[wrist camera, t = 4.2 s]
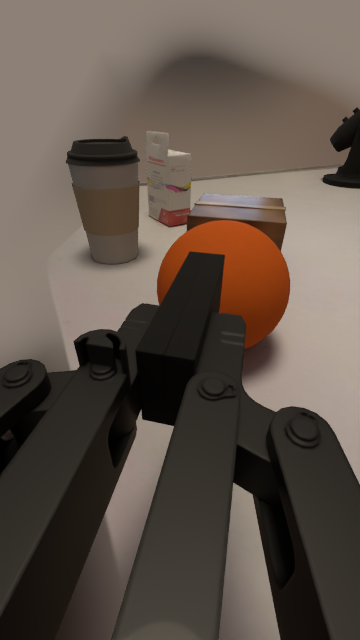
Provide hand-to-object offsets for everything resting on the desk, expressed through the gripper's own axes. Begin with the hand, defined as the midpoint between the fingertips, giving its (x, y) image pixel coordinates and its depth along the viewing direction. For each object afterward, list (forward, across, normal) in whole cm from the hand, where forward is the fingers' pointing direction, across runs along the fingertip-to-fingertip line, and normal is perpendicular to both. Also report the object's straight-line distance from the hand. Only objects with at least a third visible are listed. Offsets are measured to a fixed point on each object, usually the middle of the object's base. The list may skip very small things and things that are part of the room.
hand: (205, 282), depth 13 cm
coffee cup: (+27, -18, -12) cm, 35 cm away
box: (+28, 0, -12) cm, 30 cm away
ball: (+11, 0, -6) cm, 13 cm away
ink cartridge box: (+46, -14, -12) cm, 50 cm away
